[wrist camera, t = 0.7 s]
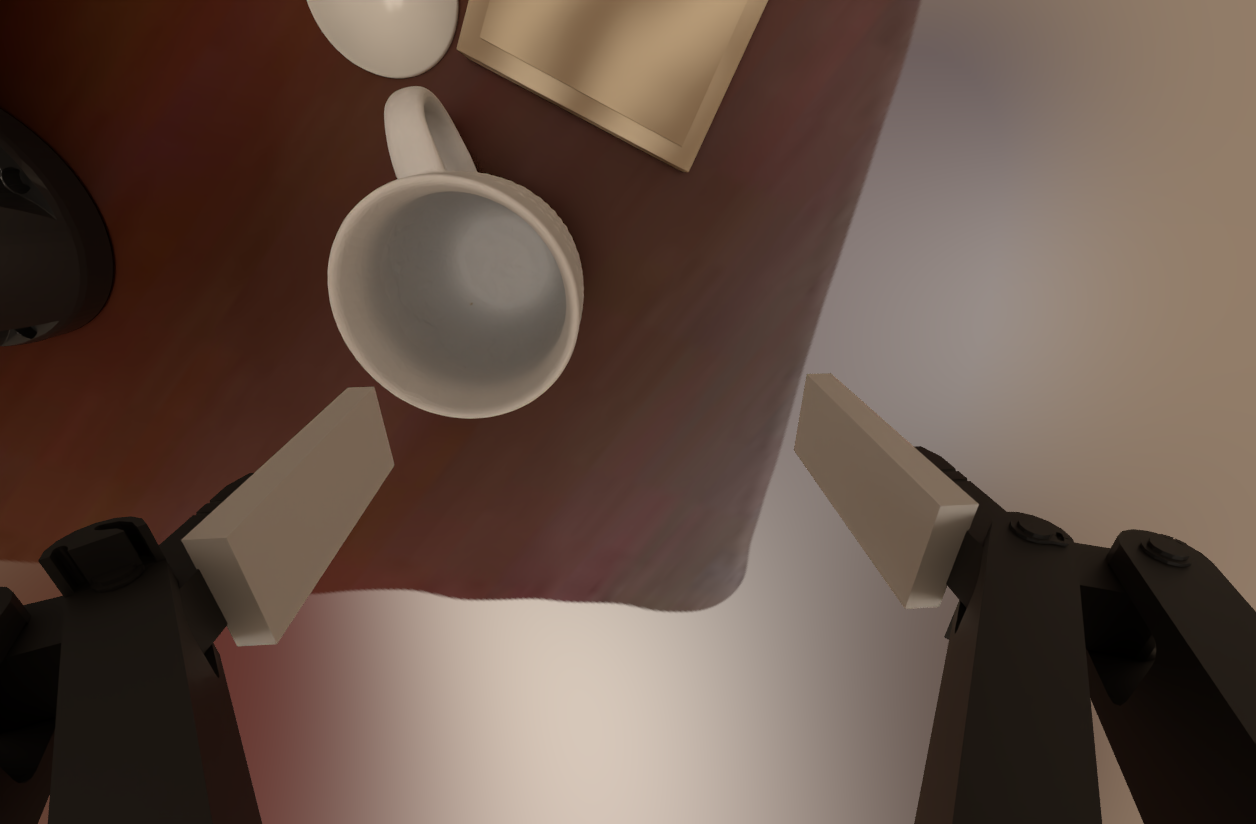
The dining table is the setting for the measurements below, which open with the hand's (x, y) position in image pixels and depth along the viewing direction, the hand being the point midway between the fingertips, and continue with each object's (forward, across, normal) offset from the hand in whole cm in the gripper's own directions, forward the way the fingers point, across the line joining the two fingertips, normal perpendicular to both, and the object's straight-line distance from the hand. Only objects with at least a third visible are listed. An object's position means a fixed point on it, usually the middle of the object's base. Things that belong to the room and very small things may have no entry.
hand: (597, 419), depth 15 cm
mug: (+22, -6, +2) cm, 22 cm away
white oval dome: (+22, -11, +16) cm, 29 cm away
